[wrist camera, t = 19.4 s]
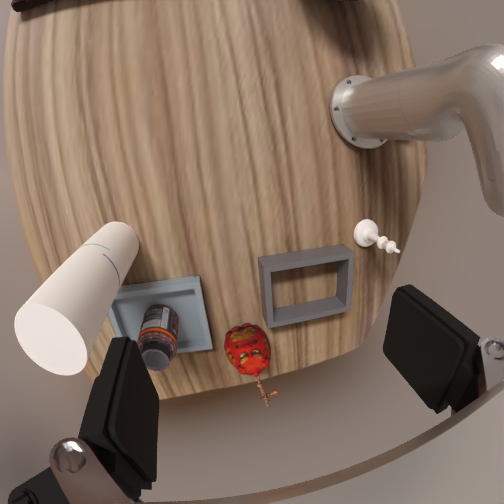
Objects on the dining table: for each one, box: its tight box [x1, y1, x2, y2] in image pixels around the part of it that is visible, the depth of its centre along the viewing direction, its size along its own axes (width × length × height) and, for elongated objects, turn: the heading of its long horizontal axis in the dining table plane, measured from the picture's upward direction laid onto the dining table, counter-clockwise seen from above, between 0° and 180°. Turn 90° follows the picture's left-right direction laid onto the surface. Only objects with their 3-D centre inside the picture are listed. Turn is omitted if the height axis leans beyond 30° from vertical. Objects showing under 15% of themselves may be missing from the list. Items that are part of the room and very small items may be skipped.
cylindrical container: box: [14, 222, 139, 375], centre depth 29 cm, size 7×7×25 cm
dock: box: [258, 244, 354, 328], centre depth 47 cm, size 15×11×4 cm
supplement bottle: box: [137, 304, 179, 371], centre depth 40 cm, size 6×6×11 cm
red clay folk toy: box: [224, 323, 278, 406], centre depth 43 cm, size 8×7×15 cm
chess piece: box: [354, 219, 400, 253], centre depth 43 cm, size 5×5×10 cm
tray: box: [108, 275, 213, 354], centre depth 45 cm, size 16×13×2 cm
